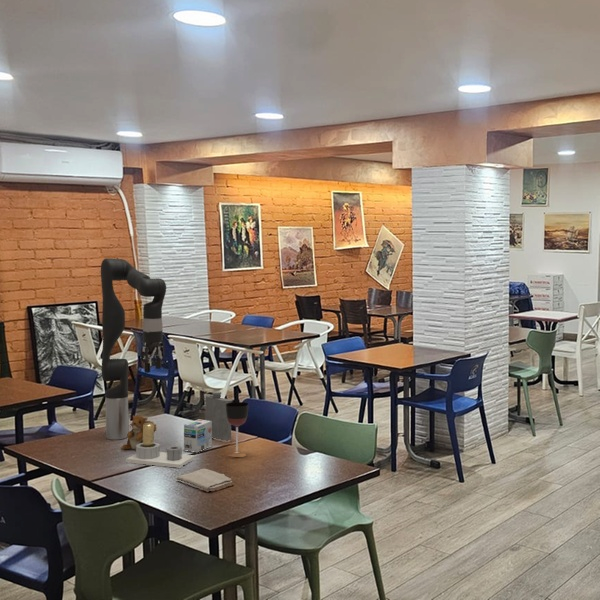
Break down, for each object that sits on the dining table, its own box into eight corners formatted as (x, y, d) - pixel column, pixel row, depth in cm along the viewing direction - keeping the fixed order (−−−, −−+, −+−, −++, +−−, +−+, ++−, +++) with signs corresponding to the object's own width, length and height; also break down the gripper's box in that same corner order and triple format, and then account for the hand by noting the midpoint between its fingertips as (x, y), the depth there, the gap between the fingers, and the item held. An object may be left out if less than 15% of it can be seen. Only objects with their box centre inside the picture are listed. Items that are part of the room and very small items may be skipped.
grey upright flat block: (232, 441, 286) (232, 394, 284) (224, 443, 283) (224, 395, 282) (210, 434, 297) (210, 388, 296) (202, 436, 294) (202, 389, 293)
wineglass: (250, 457, 264) (251, 405, 263) (228, 459, 261) (228, 407, 260) (244, 451, 272) (244, 401, 270) (223, 453, 268) (223, 403, 267)
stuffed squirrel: (119, 450, 272) (119, 417, 271) (139, 441, 285) (139, 410, 284) (141, 453, 269) (141, 419, 268) (160, 443, 282) (160, 412, 281)
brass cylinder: (146, 453, 262) (147, 422, 262) (155, 454, 261) (156, 423, 260) (140, 456, 259) (141, 424, 258) (149, 457, 257) (150, 426, 256)
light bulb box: (197, 453, 268) (197, 426, 268) (183, 451, 271) (183, 424, 271) (212, 446, 278) (212, 420, 277) (198, 444, 281) (198, 418, 280)
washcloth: (208, 495, 223) (208, 486, 223) (174, 482, 236) (174, 474, 235) (236, 486, 232) (236, 477, 232) (201, 474, 244) (201, 466, 244)
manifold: (126, 462, 256) (126, 448, 256) (143, 453, 267) (143, 439, 267) (180, 468, 249) (180, 453, 249) (194, 459, 261) (194, 445, 260)
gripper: (153, 327, 277) (153, 367, 278) (134, 331, 264) (134, 373, 265) (170, 328, 275) (170, 368, 276) (152, 332, 261) (152, 374, 263)
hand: (152, 370), depth 270 cm, fingers open, 8 cm apart
